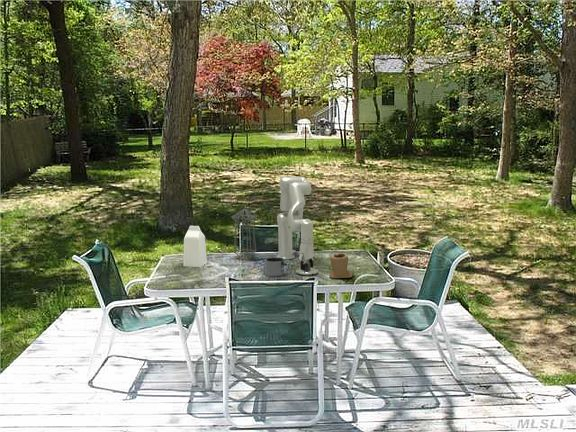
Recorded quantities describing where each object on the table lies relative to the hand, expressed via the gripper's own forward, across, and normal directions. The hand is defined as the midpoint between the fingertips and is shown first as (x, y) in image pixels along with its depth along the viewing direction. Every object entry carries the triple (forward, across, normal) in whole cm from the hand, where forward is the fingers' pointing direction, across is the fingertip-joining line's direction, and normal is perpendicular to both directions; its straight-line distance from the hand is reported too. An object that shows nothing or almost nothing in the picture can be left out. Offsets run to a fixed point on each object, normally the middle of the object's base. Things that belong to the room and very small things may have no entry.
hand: (306, 268), depth 343 cm
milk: (+3, +22, -74) cm, 77 cm away
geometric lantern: (+3, -11, -58) cm, 59 cm away
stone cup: (+3, -3, +23) cm, 23 cm away
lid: (+3, 0, 0) cm, 3 cm away
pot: (+3, +12, -16) cm, 20 cm away
